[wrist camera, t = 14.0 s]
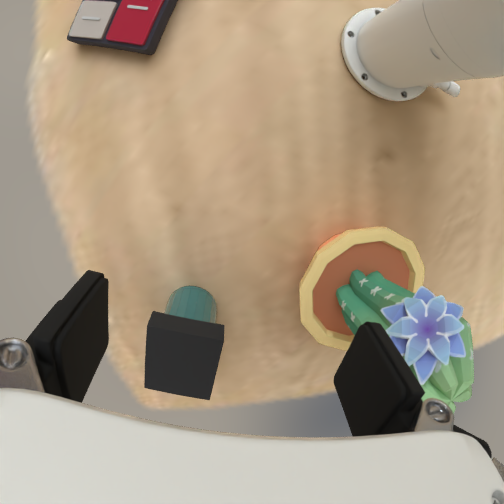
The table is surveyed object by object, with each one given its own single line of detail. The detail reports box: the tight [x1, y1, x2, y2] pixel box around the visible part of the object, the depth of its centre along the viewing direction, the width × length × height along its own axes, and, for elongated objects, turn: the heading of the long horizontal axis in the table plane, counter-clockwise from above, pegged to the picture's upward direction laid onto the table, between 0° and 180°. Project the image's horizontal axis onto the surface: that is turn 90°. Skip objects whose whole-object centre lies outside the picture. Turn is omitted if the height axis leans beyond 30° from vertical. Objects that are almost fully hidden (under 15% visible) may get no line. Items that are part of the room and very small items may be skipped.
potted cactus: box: [299, 226, 474, 414], centre depth 28 cm, size 15×15×25 cm
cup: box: [164, 286, 217, 323], centre depth 36 cm, size 6×6×9 cm
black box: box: [145, 311, 224, 400], centre depth 31 cm, size 7×9×3 cm
